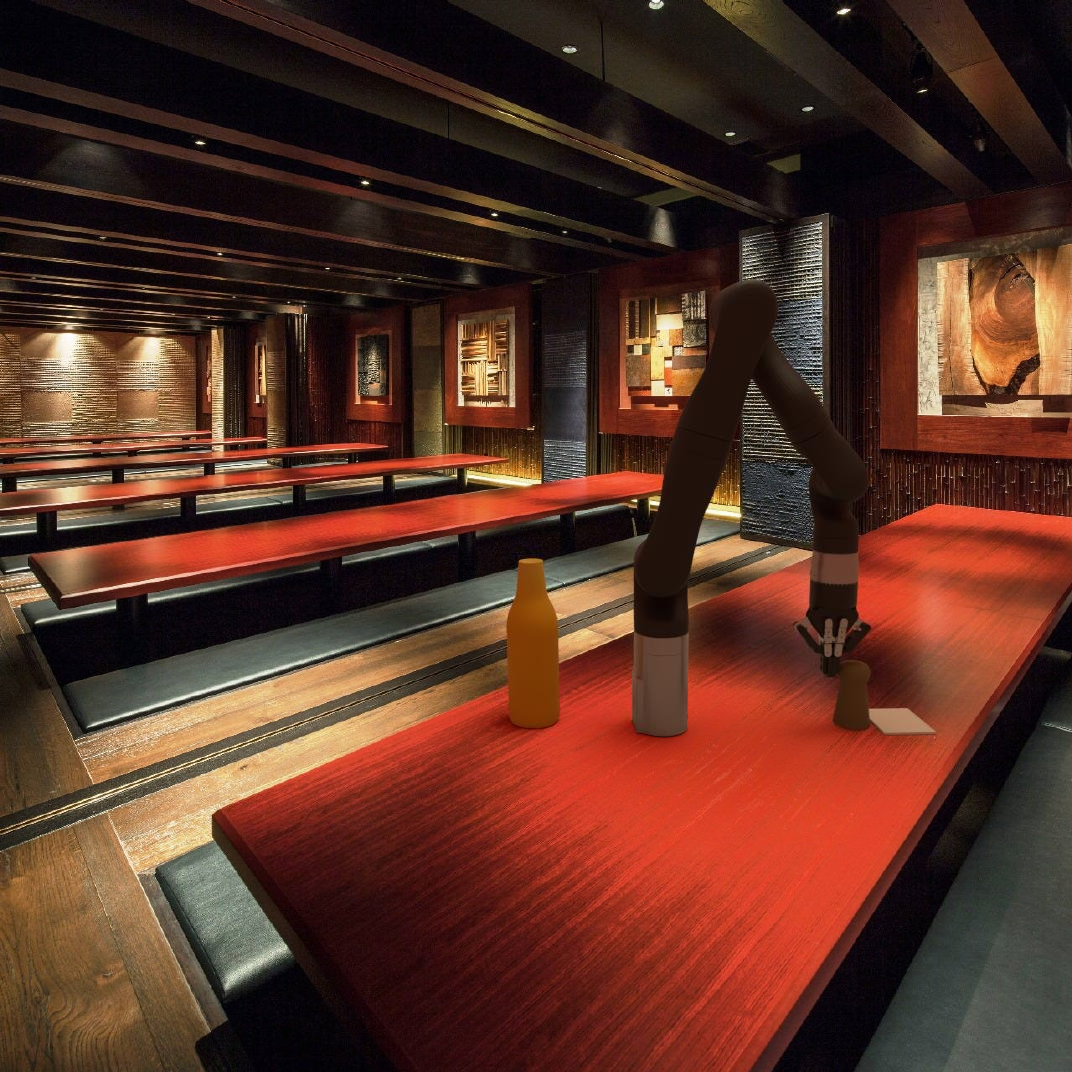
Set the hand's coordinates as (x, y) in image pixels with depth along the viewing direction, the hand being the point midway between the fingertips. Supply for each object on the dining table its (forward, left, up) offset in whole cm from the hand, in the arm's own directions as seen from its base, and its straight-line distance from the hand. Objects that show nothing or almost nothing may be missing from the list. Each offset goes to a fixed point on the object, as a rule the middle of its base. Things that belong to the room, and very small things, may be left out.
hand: (829, 675), depth 128 cm
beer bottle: (-51, +4, -9) cm, 52 cm away
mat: (+12, 0, -9) cm, 15 cm away
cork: (+4, 0, -9) cm, 10 cm away
